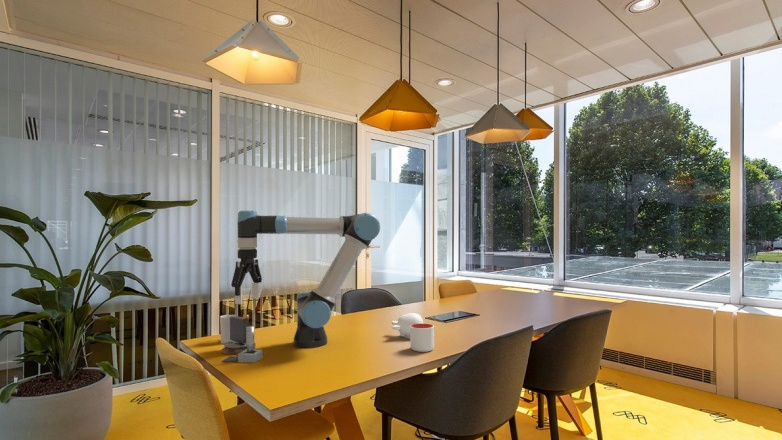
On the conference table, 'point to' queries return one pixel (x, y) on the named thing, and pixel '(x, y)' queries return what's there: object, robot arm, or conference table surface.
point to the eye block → (250, 356)
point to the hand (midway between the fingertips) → (247, 301)
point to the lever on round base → (237, 332)
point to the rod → (250, 339)
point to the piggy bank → (406, 323)
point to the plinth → (234, 350)
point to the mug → (225, 328)
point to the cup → (422, 337)
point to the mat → (230, 359)
